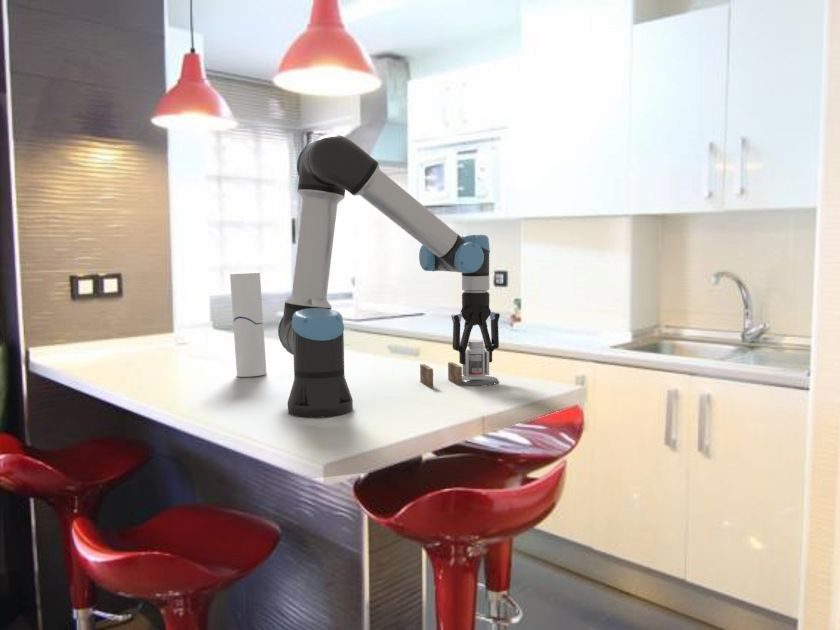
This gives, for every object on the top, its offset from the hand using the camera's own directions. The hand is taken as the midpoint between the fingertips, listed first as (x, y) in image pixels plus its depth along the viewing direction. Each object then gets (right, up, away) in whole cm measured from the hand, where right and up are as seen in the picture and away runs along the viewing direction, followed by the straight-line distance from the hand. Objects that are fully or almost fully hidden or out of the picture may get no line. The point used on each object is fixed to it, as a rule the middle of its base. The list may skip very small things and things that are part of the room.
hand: (475, 374), depth 194 cm
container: (-66, -1, +14) cm, 67 cm away
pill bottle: (0, -1, 0) cm, 1 cm away
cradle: (-10, -2, -2) cm, 10 cm away
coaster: (0, -2, 0) cm, 2 cm away
